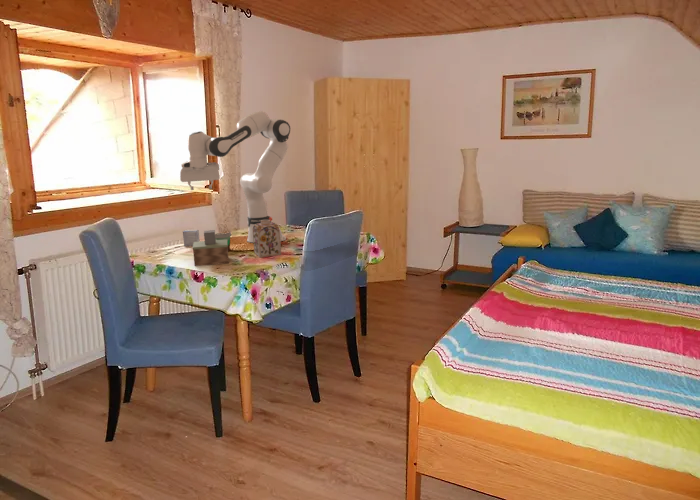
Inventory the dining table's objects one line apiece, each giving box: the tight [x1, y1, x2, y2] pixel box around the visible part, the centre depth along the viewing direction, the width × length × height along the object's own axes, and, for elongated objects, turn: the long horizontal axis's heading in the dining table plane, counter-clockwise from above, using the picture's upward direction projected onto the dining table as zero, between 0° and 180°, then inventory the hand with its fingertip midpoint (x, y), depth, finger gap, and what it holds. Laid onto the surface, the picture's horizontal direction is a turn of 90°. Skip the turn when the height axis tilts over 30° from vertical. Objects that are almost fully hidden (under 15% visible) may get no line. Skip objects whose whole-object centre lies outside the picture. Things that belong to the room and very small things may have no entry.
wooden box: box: [192, 247, 229, 267], centre depth 269 cm, size 16×12×8 cm
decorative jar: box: [252, 220, 282, 258], centre depth 280 cm, size 12×12×18 cm
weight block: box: [203, 229, 216, 245], centre depth 267 cm, size 5×5×6 cm
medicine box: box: [182, 229, 200, 247], centre depth 308 cm, size 8×4×9 cm, turn 84°
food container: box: [215, 231, 232, 252], centre depth 291 cm, size 12×6×10 cm, turn 117°
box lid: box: [191, 240, 228, 250], centre depth 268 cm, size 16×12×1 cm
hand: (201, 189), depth 290 cm, fingers open, 8 cm apart
